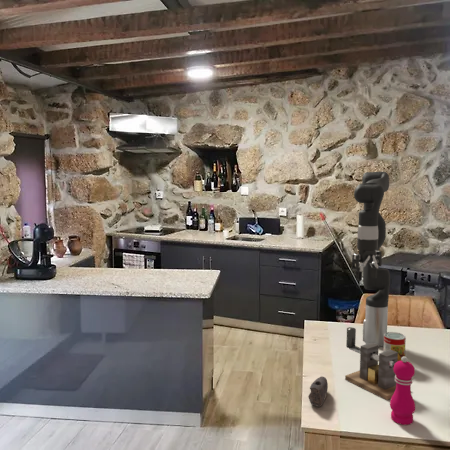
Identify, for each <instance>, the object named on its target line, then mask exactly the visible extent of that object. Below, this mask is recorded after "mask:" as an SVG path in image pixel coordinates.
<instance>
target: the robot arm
mask: <svg viewBox="0 0 450 450" xmlns="http://www.w3.org/2000/svg"><path fill="white" fill-rule="evenodd" d="M361 182H362V183H360V184H357V186H356V187H355V189H354V192H353V197H354V199H355V202H357V203H359V204H363V209H362V210H359V212H358V224H357V225H358V226H357V239H356V240H357V241H356V243H357V244H356V247H357V250H358V253H352V258H351V270H354V271H355V280H356V281H358V282H362V285H363V288H364V289H365V290H369V291H370V290H372V291H377V292H375V293H374V294H371V295H369V296H366V298H365V319H364V320H363V321H362V322H363V324H362V342H364V343H365V344H368V343H375V344H377V345H379V347H384V334H385V333H387V332H388V315H389V313H388V312H389V299H390V297H389V296H390V284H391V274H390V270H389V269H388V268H381V267H382V265H383V262H382V253H383V252H382V251H381V250H380V249H381V248H382V246H383V245H384V243H385V241H386V237H387V235H386V234H387V232H386V229H387V227H386V226H387V225H386V221H385V219H384V217H383V215H382V214H381V213H380V208H381V204H382V202H383V199H384V196H385V193H386V192H387V191H388V190H389V188H390V176H389V174H388V172H386V171H370V172H369V171H367V172H364V173H363V175H362V180H361ZM379 267H380V268H379Z"/></svg>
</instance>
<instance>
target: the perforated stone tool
mask: <svg viewBox="0 0 450 450" xmlns="http://www.w3.org/2000/svg"><path fill="white" fill-rule="evenodd" d="M328 384H329V383H328V380H327V378H326V377H325V376H320V377H318V378H316V379H315V380H314V381H313V382H311V385H310V387H309V390H310V393H309V394H308V396H307V397H308V400H309V403H310V404H311V405H313V406H316V407H318V408H320V407H322V405H323V404H324V402H325V400H326V397H327V393H328V390H329V389H328V387H329V385H328Z"/></svg>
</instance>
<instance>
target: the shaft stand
mask: <svg viewBox="0 0 450 450" xmlns="http://www.w3.org/2000/svg"><path fill="white" fill-rule="evenodd" d="M379 347H380V346H379V345H377V344H375V343H368V344H366V343H365V344H362V345H360V348H361V350H360V353H359V354H360V355H359V357H360V359H359V370H357V371H354V372H352V373H348V374H347V375H344V376H345V379H344V380H345V381H347V382H349V383H351V384H353V385H355V386H356V387H359V388H362V389H363V390H366V391H368V392H370V393H372V394H373V395H374V396H375V395H376V396H378V397H379V398H381V399H384V400H386V401H390V400H391V397H392V396H393V394H394V392H395V389H396V381H395V375H396V374H395V373H394V370H393V368H394V365H395V363H396V362H397V361H398V352H395V351H393V350H388V351H385V352H380V353H379ZM370 353H374V354H377V355H379V361H376V360H374V359H372V358H370ZM391 360H392V361H393V362H394V364H393V366H392V367H391V366H389V362H390V361H391ZM377 364H378V365H379V374H378V379H377V383H376V384H373V383H371V382H369V381H368V368H369V367H372V366H374V365H377Z"/></svg>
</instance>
